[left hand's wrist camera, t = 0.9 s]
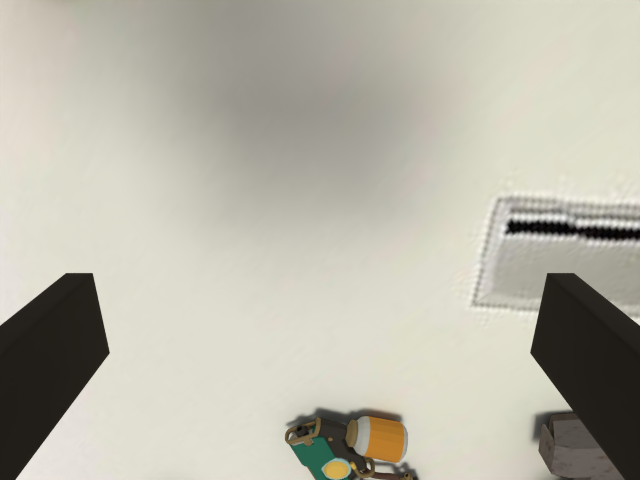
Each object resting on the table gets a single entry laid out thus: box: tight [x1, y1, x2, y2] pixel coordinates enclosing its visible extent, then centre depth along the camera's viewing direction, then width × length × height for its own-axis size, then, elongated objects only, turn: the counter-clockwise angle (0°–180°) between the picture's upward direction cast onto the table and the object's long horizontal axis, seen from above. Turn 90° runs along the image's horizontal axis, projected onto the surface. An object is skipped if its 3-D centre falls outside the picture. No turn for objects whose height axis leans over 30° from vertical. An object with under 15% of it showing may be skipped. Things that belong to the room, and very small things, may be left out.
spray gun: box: [285, 416, 418, 480], centre depth 51 cm, size 4×17×15 cm
